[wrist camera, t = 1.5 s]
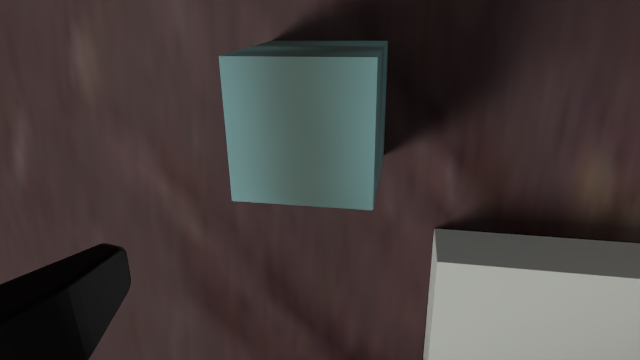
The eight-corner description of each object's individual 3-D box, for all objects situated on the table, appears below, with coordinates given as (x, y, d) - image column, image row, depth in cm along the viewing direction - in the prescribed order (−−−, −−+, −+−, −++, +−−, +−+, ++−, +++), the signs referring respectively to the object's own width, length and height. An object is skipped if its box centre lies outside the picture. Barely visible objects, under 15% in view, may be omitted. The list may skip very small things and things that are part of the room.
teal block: (277, 150, 22) (232, 200, 16) (272, 40, 20) (218, 55, 15) (383, 154, 21) (372, 210, 15) (388, 40, 19) (377, 57, 14)
